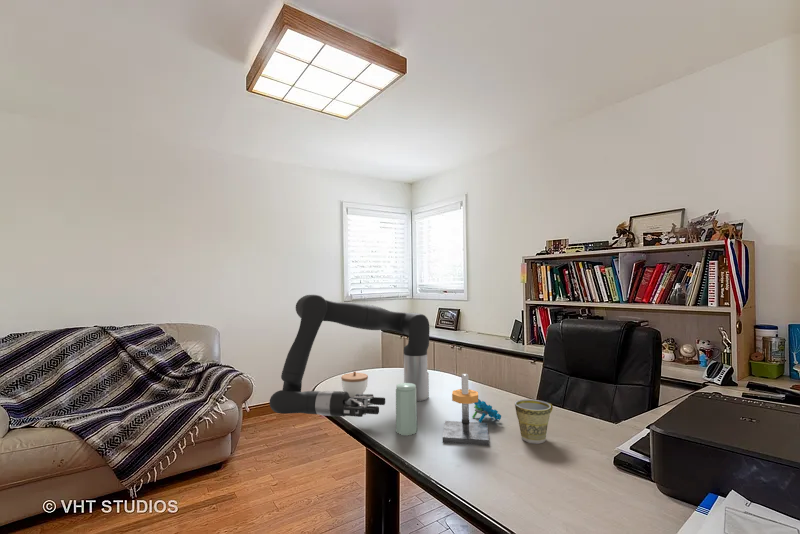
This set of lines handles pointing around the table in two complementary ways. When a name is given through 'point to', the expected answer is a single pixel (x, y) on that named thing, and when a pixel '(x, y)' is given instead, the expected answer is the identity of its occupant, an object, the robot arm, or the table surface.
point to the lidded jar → (354, 383)
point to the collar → (465, 396)
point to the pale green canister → (406, 409)
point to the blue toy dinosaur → (485, 411)
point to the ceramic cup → (533, 419)
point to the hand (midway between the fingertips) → (382, 405)
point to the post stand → (465, 426)
